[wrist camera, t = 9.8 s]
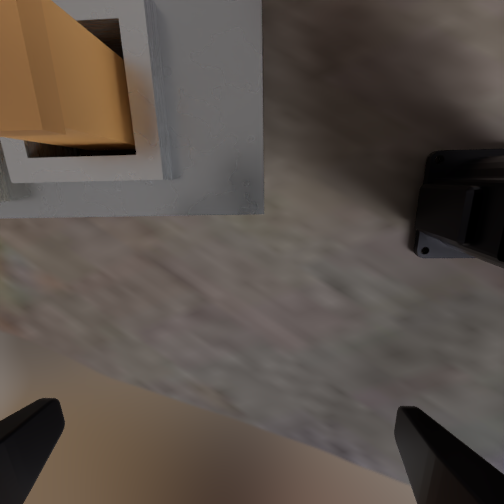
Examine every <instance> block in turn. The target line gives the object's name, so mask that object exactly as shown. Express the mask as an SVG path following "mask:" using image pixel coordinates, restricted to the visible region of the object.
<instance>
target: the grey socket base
mask: <svg viewBox="0 0 504 504" xmlns="http://www.w3.org/2000/svg"><path fill="white" fill-rule="evenodd" d="M52 1H53V2H54V3H55V4H56V5H58V6H59V7H60V8H61V9H63V10H64V11H65V12H66V13H67V14H69V15H70V16H71V17H72V18H74V19H75V20H76V21H77V22H78V23H80V24H81V25H82V26H83V27H84V28H86V29H87V30H88V31H89V32H91V33H92V34H93V35H94V36H95V37H97V38H98V39H99V40H100V41H101V42H103V43H104V44H105V45H106V46H108V47H109V48H110V49H111V50H112V51H114V52H115V53H116V54H117V55H118V56H120V57H121V58H122V59H124V64H125V72H126V79H127V87H128V95H129V102H130V110H131V118H132V125H133V133H134V140H135V148H136V155H116V156H82V157H80V154H79V149H78V148H71V147H65V146H58V145H52V144H45V143H38V142H32V141H25V140H19V139H12V138H6V137H0V218H52V217H115V216H177V215H240V214H264V139H263V43H262V0H52Z"/></svg>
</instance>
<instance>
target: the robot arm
mask: <svg viewBox="0 0 504 504" xmlns="http://www.w3.org/2000/svg"><path fill="white" fill-rule="evenodd" d="M437 156H439V158H440V161H439V163H438V164H436V163H435V159H436V157H437ZM415 228H416V229H417V231H416V238H415V244H414V253H415V254H416V255H417V256H419V257H421V258H478V259H481V260H483V261H486V262H489V263H491V264H494V265H496V266H499V267H502V268H504V149H481V150H446V151H436V152H433V153H431V154H430V155H429V156H428V158H427V162H426V169H425V176H424V183H423V186H422V187H421V188H420V193H419V200H418V207H417V214H416V221H415ZM423 247H426V250H425V251H424V252H423V253H421V250H422V248H423ZM64 425H65V421H64V417H63V414H62V409H61V405H60V402H59V400H58V399H56V398H42V399H39V400H37V401H35V402H33V403H32V404H30V405H28V406H26V407H24V408H22V409H21V410H19V411H17V412H15V413H14V414H12V415H10V416H8V417H6V418H5V419H3V420H1V421H0V504H23V503H24V501H25V499H26V497H27V496H28V494H29V492H30V491H31V489H32V487H33V485H34V483H35V481H36V479H37V478H38V476H39V474H40V472H41V471H42V469H43V467H44V465H45V463H46V461H47V459H48V458H49V456H50V454H51V452H52V450H53V449H54V447H55V445H56V443H57V441H58V439H59V437H60V436H61V434H62V432H63V429H64ZM394 435H395V440H396V444H397V446H398V449H399V452H400V455H401V458H402V461H403V464H404V467H405V470H406V473H407V475H408V478H409V481H410V484H411V487H412V490H413V493H414V496H415V499H416V501H417V504H504V474H503V473H501V472H500V471H499V470H497V469H496V468H495V467H494V466H492V465H491V464H490V463H488V462H487V461H486V460H485V459H483V458H482V457H481V456H479V455H478V454H477V453H476V452H474V451H473V450H472V449H470V448H469V447H468V446H467V445H465V444H464V443H463V442H462V441H460V440H459V439H458V438H456V437H455V436H454V435H453V434H451V433H450V432H449V431H447V430H446V429H445V428H444V427H442V426H441V425H440V424H438V423H437V422H436V421H435V420H433V419H432V418H431V417H430V416H428V415H427V414H426V413H424V412H423V411H422V410H421V409H419V408H417V407H415V406H400V407H399V408H398V410H397V416H396V423H395V429H394Z"/></svg>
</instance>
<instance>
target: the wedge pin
mask: <svg viewBox="0 0 504 504" xmlns="http://www.w3.org/2000/svg"><path fill="white" fill-rule="evenodd" d="M0 137H6V138H12V139H19V140H25V141H32V142H38V143H45V144H52V145H58V146H65V147H71V148H78V149H84V150H91V151H94V150H136V148H135V140H134V133H133V125H132V118H131V110H130V102H129V95H128V87H127V79H126V72H125V64H124V60H123V59H122V58H121V57H120V56H118V55H117V54H116V53H115V52H114V51H112V50H111V49H110V48H109V47H108V46H106V45H105V44H104V43H103V42H101V41H100V40H99V39H98V38H97V37H95V36H94V35H93V34H92V33H91V32H89V31H88V30H87V29H86V28H84V27H83V26H82V25H81V24H80V23H78V22H77V21H76V20H75V19H74V18H72V17H71V16H70V15H69V14H67V13H66V12H65V11H64V10H63V9H61V8H60V7H59V6H58V5H56V4H55V3H54V2H53V1H52V0H0Z"/></svg>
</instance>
